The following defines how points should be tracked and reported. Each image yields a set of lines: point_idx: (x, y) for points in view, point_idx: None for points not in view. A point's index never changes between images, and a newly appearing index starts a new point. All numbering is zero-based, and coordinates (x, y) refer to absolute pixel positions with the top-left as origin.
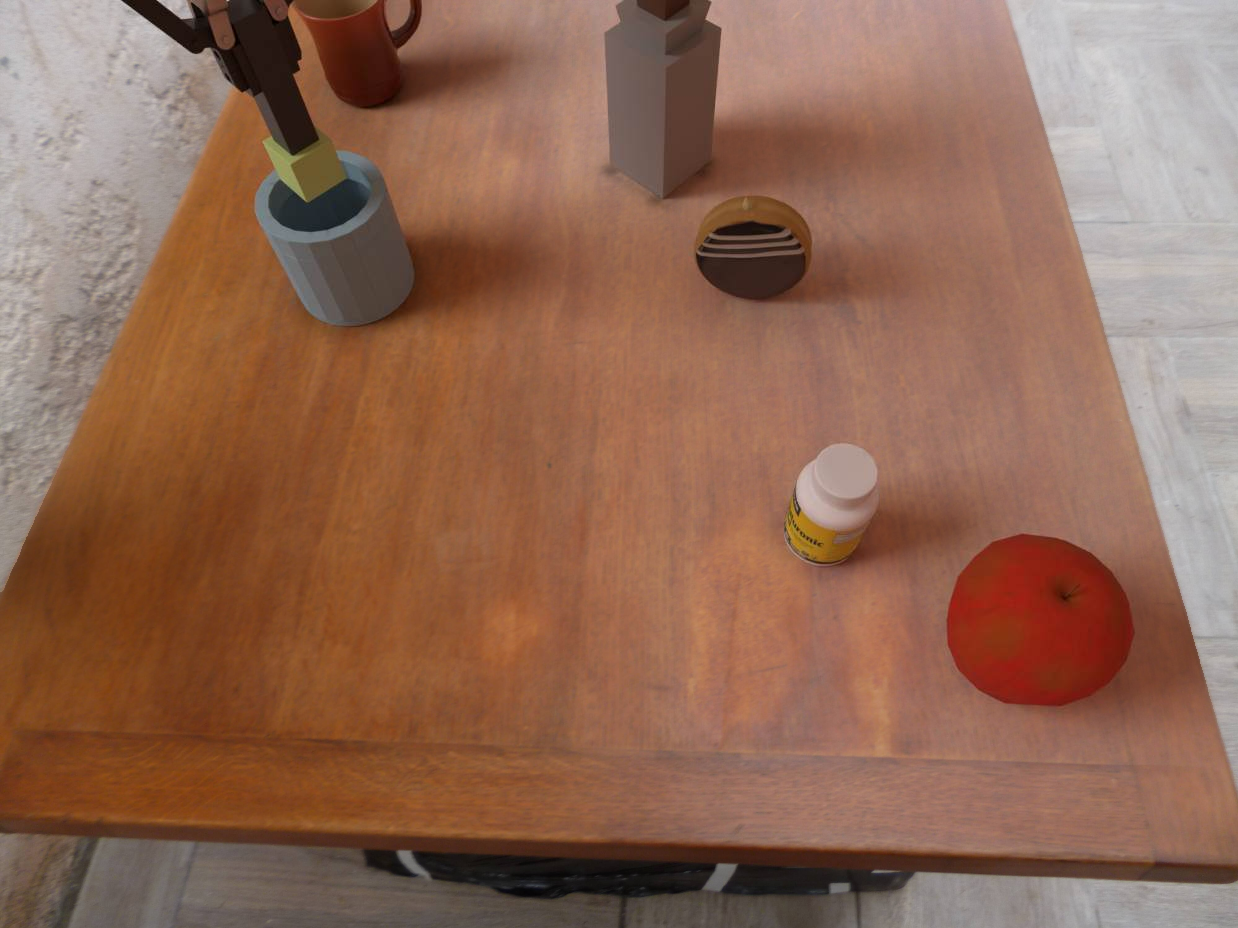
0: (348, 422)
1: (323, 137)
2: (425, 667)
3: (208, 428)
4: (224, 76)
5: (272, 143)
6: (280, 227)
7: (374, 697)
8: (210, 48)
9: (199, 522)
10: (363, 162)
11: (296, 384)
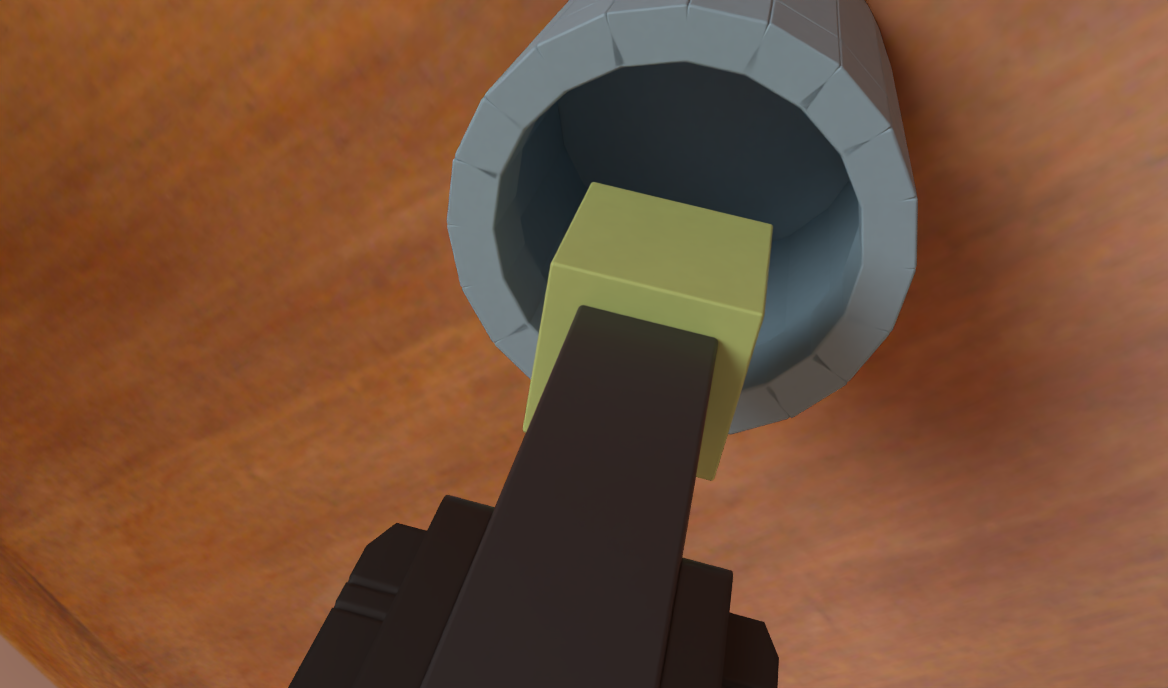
0: (391, 342)
1: (706, 452)
2: (202, 649)
3: (169, 90)
4: (362, 559)
5: (565, 310)
6: (483, 231)
7: (127, 616)
8: (290, 685)
9: (53, 237)
10: (887, 278)
11: (379, 184)
